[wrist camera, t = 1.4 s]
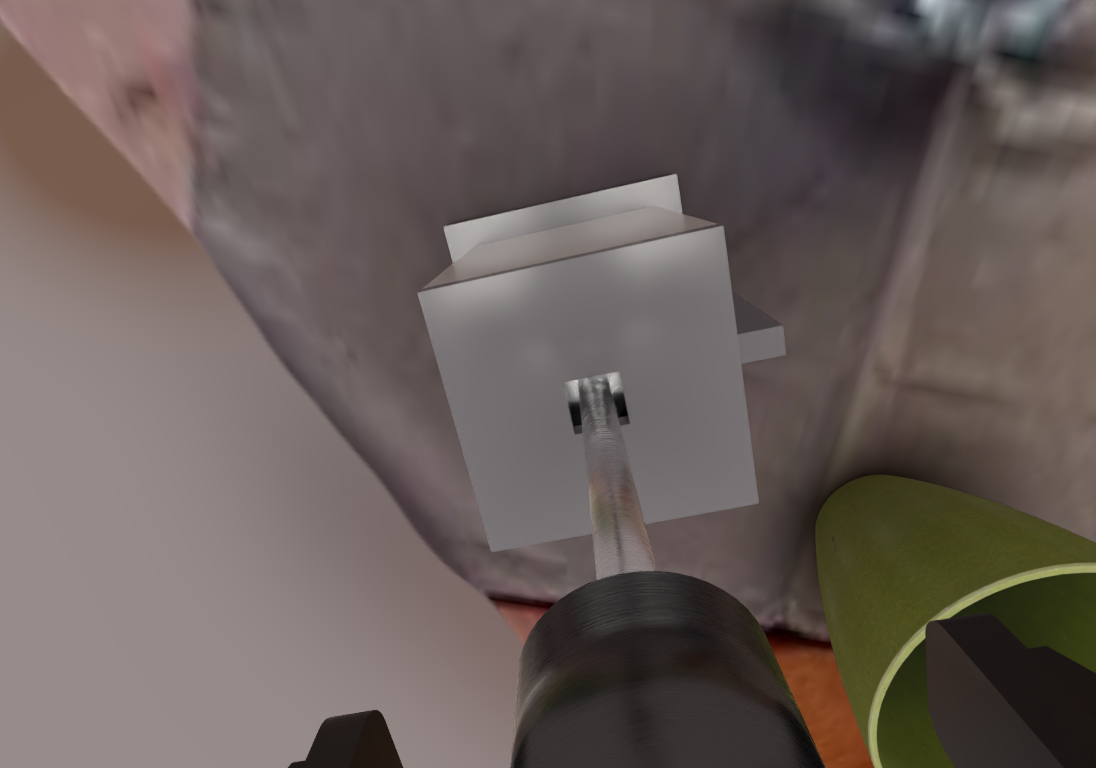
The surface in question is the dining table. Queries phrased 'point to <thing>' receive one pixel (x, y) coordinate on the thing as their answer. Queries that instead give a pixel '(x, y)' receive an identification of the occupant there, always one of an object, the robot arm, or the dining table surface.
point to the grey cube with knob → (596, 356)
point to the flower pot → (938, 595)
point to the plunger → (646, 647)
